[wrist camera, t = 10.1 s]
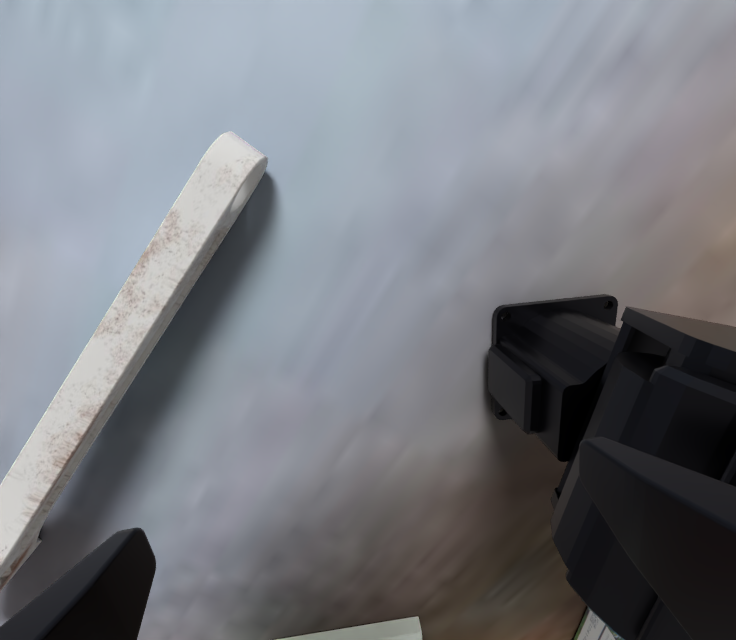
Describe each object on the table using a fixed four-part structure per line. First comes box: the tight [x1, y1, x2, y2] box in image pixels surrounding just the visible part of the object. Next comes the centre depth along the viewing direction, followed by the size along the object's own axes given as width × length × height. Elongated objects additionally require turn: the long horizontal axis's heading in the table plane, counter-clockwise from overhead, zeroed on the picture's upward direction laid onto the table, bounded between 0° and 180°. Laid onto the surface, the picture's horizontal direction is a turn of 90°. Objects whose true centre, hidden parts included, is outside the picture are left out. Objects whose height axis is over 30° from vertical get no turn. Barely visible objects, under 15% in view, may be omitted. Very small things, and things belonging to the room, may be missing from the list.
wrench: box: [0, 131, 268, 592], centre depth 17 cm, size 8×2×30 cm
